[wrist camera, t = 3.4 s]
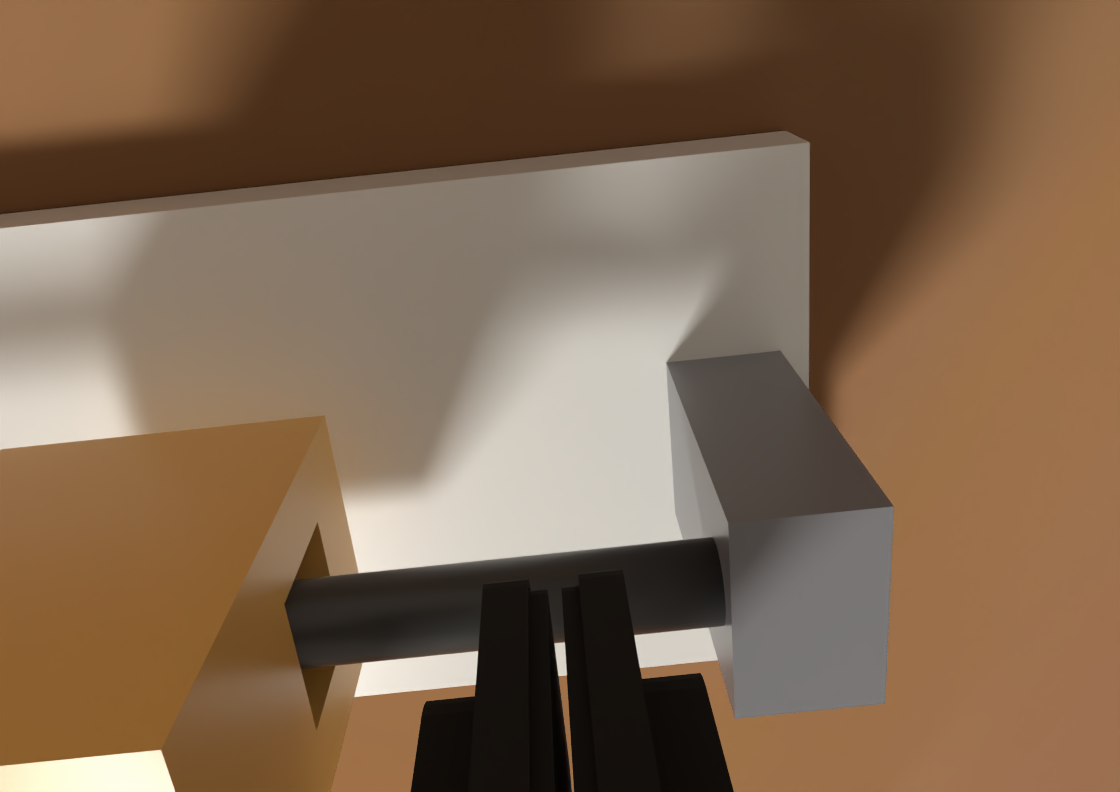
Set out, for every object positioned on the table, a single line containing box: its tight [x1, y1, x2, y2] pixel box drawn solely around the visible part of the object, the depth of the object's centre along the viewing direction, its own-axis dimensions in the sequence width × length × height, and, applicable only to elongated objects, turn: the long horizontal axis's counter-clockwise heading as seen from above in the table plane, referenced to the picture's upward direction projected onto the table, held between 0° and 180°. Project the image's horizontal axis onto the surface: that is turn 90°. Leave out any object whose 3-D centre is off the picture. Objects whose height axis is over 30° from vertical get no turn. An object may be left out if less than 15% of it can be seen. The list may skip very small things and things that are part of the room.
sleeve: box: [0, 416, 362, 792], centre depth 12 cm, size 5×4×7 cm
